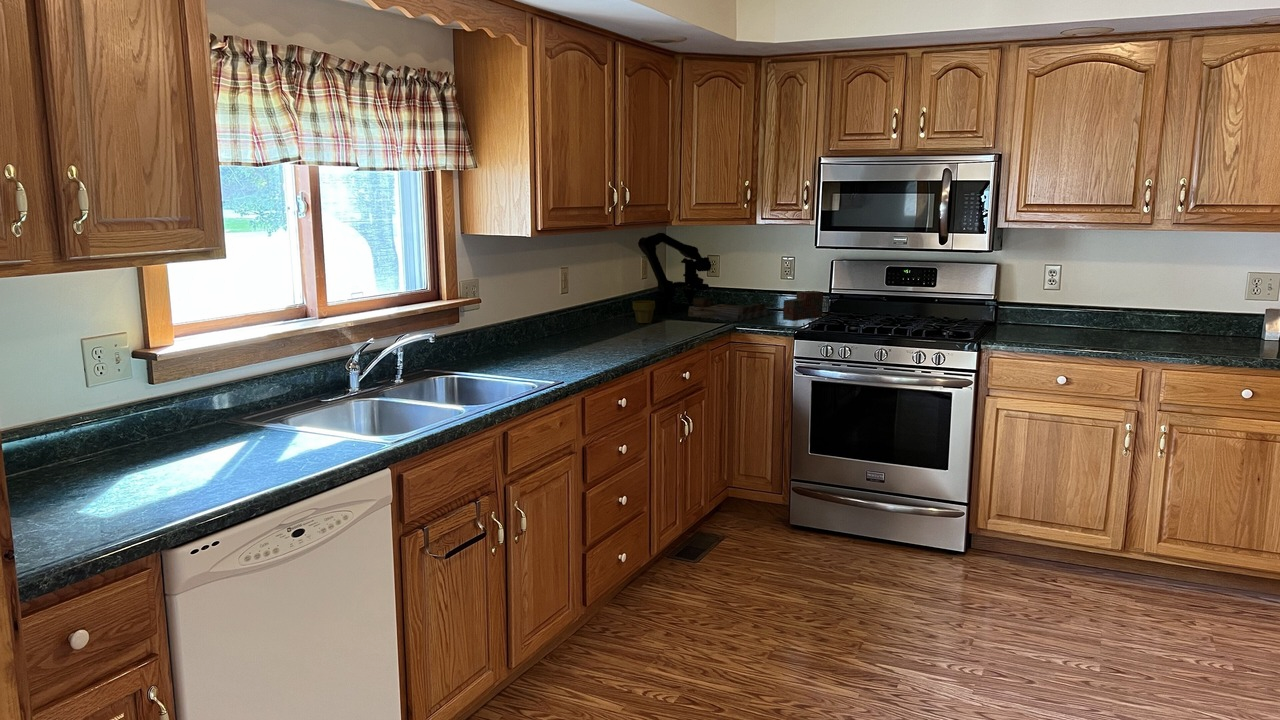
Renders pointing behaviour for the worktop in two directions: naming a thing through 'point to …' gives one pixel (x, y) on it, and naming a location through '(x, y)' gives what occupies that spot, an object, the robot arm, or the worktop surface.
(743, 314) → the trap deck
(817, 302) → the stack of blocks
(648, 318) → the plant pot
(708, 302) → the walnut block
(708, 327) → the worktop surface
